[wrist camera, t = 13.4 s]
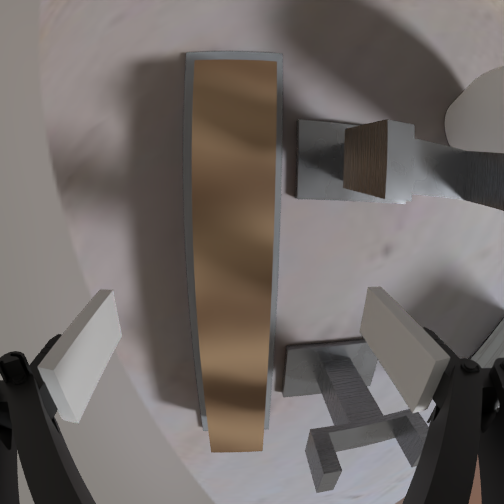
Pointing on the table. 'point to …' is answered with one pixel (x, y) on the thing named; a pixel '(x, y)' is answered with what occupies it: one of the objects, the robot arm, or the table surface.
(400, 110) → the table surface
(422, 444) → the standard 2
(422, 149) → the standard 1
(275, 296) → the mat
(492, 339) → the skincare box
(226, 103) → the rail
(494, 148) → the mug
